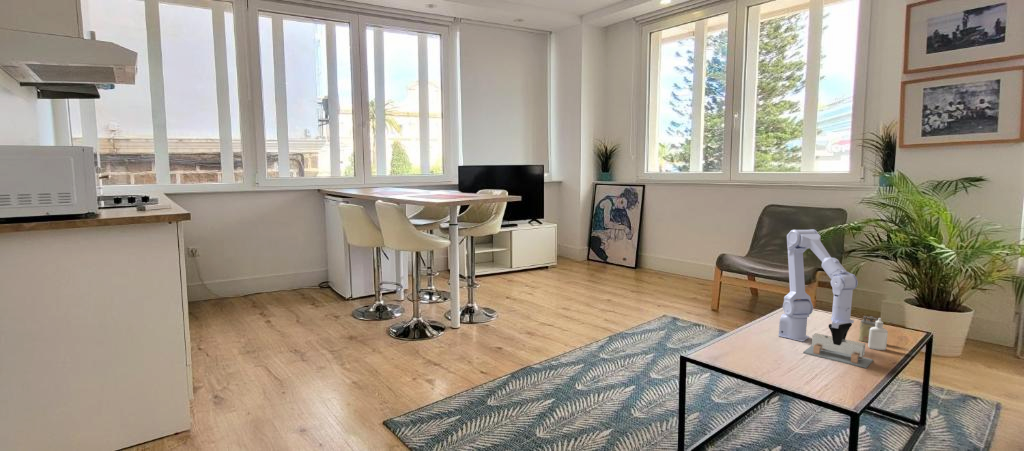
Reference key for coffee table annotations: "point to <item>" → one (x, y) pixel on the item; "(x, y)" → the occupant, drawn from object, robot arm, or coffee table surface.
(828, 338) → the silver long block
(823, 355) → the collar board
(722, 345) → the coffee table surface
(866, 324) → the lighter
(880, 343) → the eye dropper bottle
